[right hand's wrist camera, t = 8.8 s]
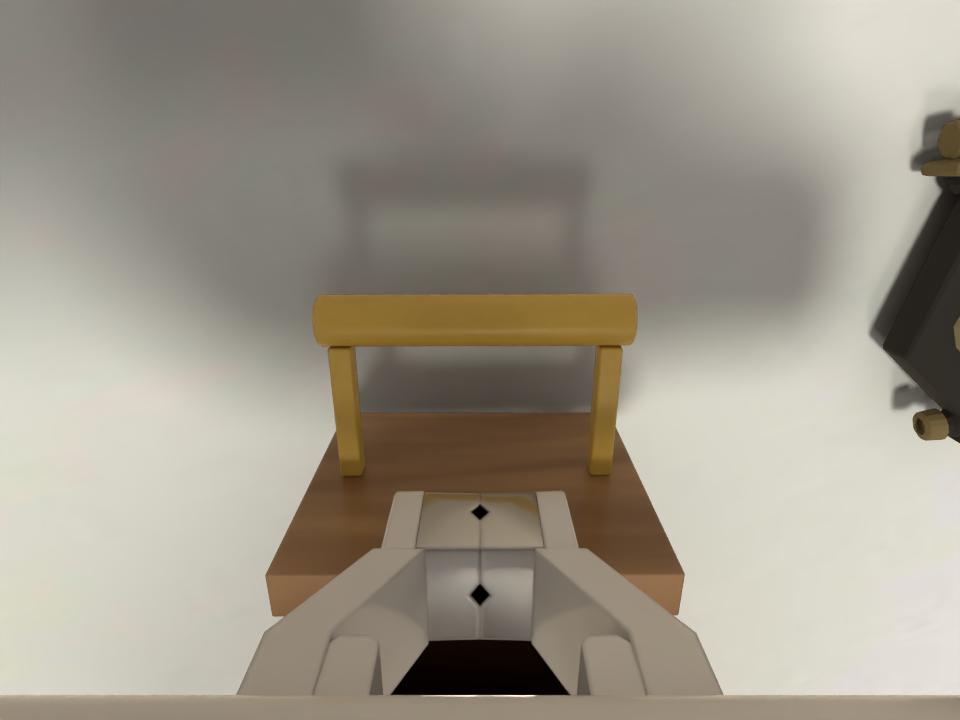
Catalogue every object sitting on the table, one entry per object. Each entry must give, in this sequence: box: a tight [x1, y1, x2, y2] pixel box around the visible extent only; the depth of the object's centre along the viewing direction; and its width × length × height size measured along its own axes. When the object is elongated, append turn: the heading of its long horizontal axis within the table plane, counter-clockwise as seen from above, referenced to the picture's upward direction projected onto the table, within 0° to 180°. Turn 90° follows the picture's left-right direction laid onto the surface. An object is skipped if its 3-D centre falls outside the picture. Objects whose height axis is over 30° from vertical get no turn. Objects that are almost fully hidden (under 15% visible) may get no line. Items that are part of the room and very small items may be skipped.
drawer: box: [265, 294, 685, 695], centre depth 19 cm, size 26×9×8 cm, turn 0°
